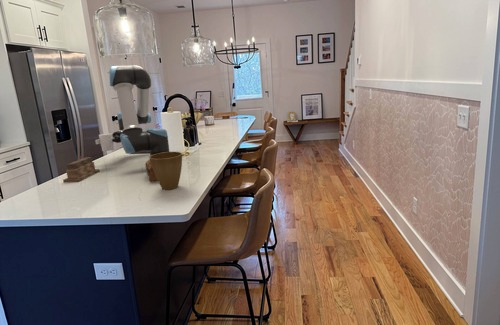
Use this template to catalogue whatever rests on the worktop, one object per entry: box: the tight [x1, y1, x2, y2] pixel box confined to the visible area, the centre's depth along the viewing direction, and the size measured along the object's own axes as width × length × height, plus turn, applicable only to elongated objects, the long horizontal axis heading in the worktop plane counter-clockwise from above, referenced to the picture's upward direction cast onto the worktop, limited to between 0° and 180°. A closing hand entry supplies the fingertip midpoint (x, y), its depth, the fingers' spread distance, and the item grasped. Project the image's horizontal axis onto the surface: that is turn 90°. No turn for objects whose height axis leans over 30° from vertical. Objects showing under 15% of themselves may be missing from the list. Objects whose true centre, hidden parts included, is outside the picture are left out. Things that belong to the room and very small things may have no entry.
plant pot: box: [149, 151, 183, 191], centre depth 156 cm, size 15×15×16 cm
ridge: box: [62, 156, 100, 183], centre depth 191 cm, size 22×9×10 cm, turn 176°
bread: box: [145, 159, 158, 183], centre depth 178 cm, size 19×11×10 cm, turn 21°
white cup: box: [98, 132, 115, 152], centre depth 207 cm, size 8×8×10 cm
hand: (102, 141), depth 202 cm, fingers closed on white cup, 7 cm apart
